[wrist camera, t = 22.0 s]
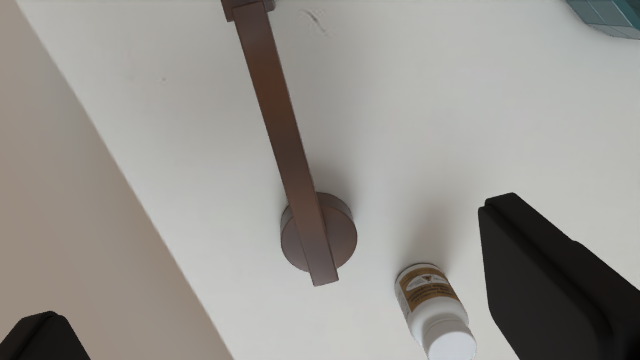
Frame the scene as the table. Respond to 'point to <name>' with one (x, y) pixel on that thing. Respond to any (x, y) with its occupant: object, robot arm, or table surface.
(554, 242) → the robot arm
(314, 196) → the ladle
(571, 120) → the table surface
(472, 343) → the pill bottle
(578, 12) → the bowl
